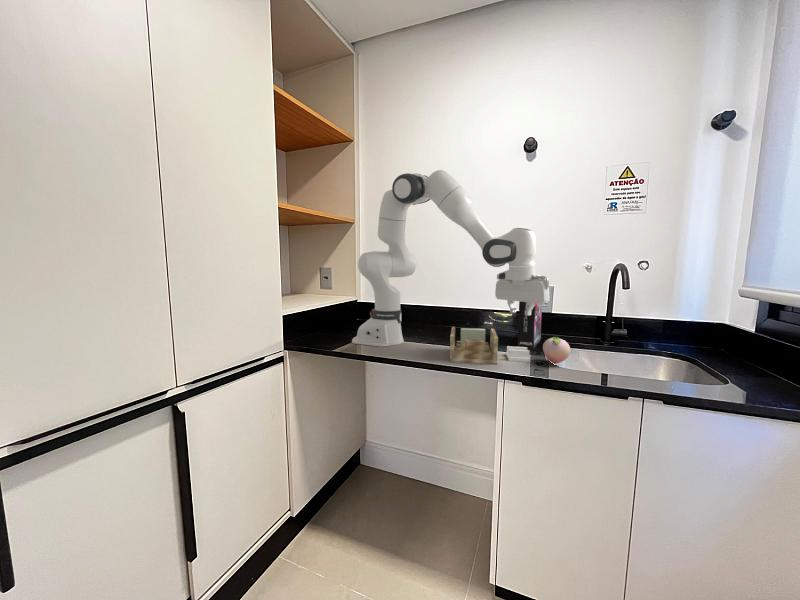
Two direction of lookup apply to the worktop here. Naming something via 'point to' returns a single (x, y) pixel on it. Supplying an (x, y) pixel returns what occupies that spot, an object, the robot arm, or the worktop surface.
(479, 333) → the sheet
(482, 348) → the offcut upper
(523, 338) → the graphics card box
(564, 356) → the decorative fruit
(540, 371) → the worktop surface
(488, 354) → the rack
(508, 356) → the holder
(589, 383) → the worktop surface
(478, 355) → the offcut lower
